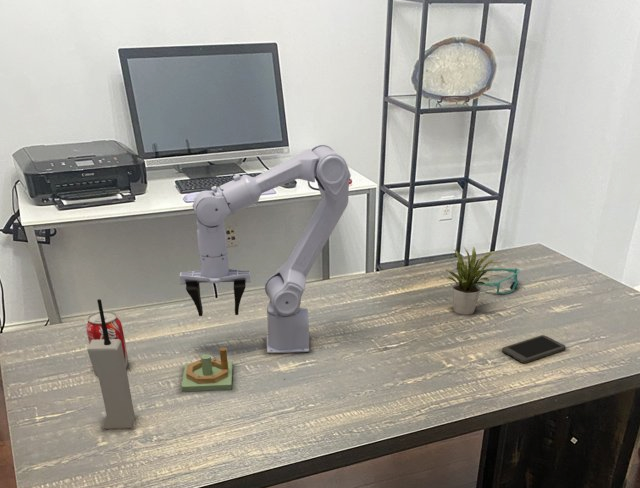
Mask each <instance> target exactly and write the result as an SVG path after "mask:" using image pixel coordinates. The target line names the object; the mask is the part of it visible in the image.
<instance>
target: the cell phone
mask: <svg viewBox="0 0 640 488" xmlns="http://www.w3.org/2000/svg"><path fill="white" fill-rule="evenodd" d="M565 349H566V345H565V344H563V343H561V342H559V341H557V340H555V339H553V338H551V337H549V336H547V335H544V334H542V335H538V336H535V337H532V338H529V339H525V340H522V341H519V342H516V343H512V344H509V345H507V346H504V347H503V346H502V348H501V351H502V352H503V353H504V354H506V355H507V356H509V357H512V358H513V359H514V360H517V361H518V362H520V363H523V364H527V363H530V362H533V361H535V360H538V359H542V358H544V357H548V356H551V355H554V354H556V353H559V352H562V351H565Z"/></svg>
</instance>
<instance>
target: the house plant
mask: <svg viewBox="0 0 640 488" xmlns="http://www.w3.org/2000/svg"><path fill="white" fill-rule="evenodd" d="M464 250H465V252H466V255H467V262H465V261H464V259H463V256H462V255H461V254H460V253H459V252H458V250H457V249H454V248H453V251H454V253H455V255H456V258H457V262H456V265H455V263H453V261H452V260H451V259H449V258H448V257H444V258H445V259H448V261H450V262H451V263H452V264H453V265H454V266H456V267H455V269H456V270H457V273H455V272H453V271H452V270H449V269H446V271H447V272H449V273H450V275H451V276H446V277H445V279H448V280H450V281H453V282H454V284H453V285H452V298H453V300H452V302H453V311H454V313H456V314H458V315H464V316H465V315H466V316H467V315H472V314H474V313H475V309H476V307H477V304H478V300H479V296H480V294H481V290H482V288H481V287H480V285H476V284H483V285H482V286H485V287H487V286H486V285H485V283H486V282H487V283H490V279H489V278H488V277H483V276H484V275H485V274H486V273H488V272H490V271H489V270H492V269H490V268H487V269H488V270H485V269H486V267H487V266H488V265H490V264H500V262H498V261H496V259H492V260H489V261H488V262H486V263H485V264H484V265H483V263H484V262H485V261H486V260H487V259H488V258H489V257H490V256H491V255H494V254H496V253H497V251H492V252H489V253H487V254H485V255H484V256H483V257H481V258H479V259H477V252H476V248H475V247H472V251H471V256H470V253H469V251H468V250H467V249H466V248H464ZM480 268H481V269H480ZM483 270H485V271H484V272H483ZM481 272H482V273H481ZM452 276H453V277H452ZM484 281H486V282H484Z"/></svg>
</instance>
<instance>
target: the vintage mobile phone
mask: <svg viewBox="0 0 640 488" xmlns="http://www.w3.org/2000/svg"><path fill="white" fill-rule="evenodd" d="M97 306H98V310H99V311H98V312H100V317H101V322H102V331H103V336H104V339H100V340H91V342H90V344H89V343H88V346H87V349H86V351H87V353H88V357H89V359H90V363H91V367H92V369H93V372H94V375H95V376H96V377H97V378H98V380H99V385H100V391H101V395H102V399H103V404H104V409H105V414H106V415H105V417H104V421H103V423H102V426H103V429H105V430H119V429H120V430H122V429H123V430H124V429H132V427H133V423H134V421H135V418H136V415H135V410H134V404H133V398H132V394H131V393H132V392H131V388H130V382H129V376H128V371H127V367H126V365H125V359H124V354H123V348H122V343H121V340H120V339H109V335H108V330H107V326H106V323H105V318H104V313H103V311H104V308H103V303H102V299H100V298H98V299H97Z"/></svg>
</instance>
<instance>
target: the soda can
mask: <svg viewBox="0 0 640 488" xmlns="http://www.w3.org/2000/svg"><path fill="white" fill-rule="evenodd" d="M103 313H104V318H105V323H106V326H107V330H108V335H109V339H120V340H121V343H122V348H123V354H124V359H125V365H126V368H127V367H128V365H129V358H128V357H129V355H128V351H127V345H126V339H125V335H124V329H123V326H122V321H121V320H120V319H119V318H118V314H117V313H115V312H113V311H109V310H103ZM85 328H86V335H87V341H88V345H89V344H90V342H91V340H100V339H104V336H103V331H102V322H101V317H100V312H99V311H97V312H94V313H91V314H89V315H88V316H87V323H86V326H85Z"/></svg>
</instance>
